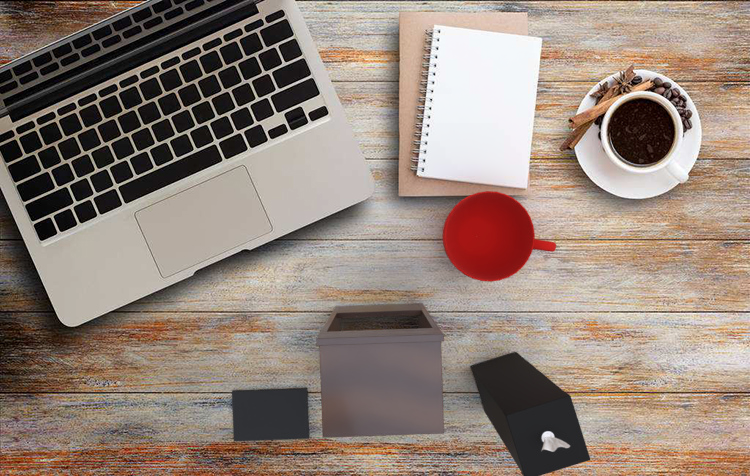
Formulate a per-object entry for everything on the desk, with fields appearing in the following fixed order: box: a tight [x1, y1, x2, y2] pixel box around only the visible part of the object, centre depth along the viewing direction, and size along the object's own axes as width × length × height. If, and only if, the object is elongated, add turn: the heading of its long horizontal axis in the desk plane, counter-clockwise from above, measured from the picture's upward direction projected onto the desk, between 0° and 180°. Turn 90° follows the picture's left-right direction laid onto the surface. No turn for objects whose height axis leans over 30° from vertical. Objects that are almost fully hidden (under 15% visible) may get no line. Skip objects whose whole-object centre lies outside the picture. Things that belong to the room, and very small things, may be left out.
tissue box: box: [469, 351, 591, 476], centre depth 74 cm, size 8×8×28 cm
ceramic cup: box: [441, 190, 557, 283], centre depth 82 cm, size 13×17×10 cm
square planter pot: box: [315, 302, 445, 439], centre depth 74 cm, size 12×14×28 cm
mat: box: [231, 387, 310, 442], centre depth 87 cm, size 8×12×1 cm, turn 92°
